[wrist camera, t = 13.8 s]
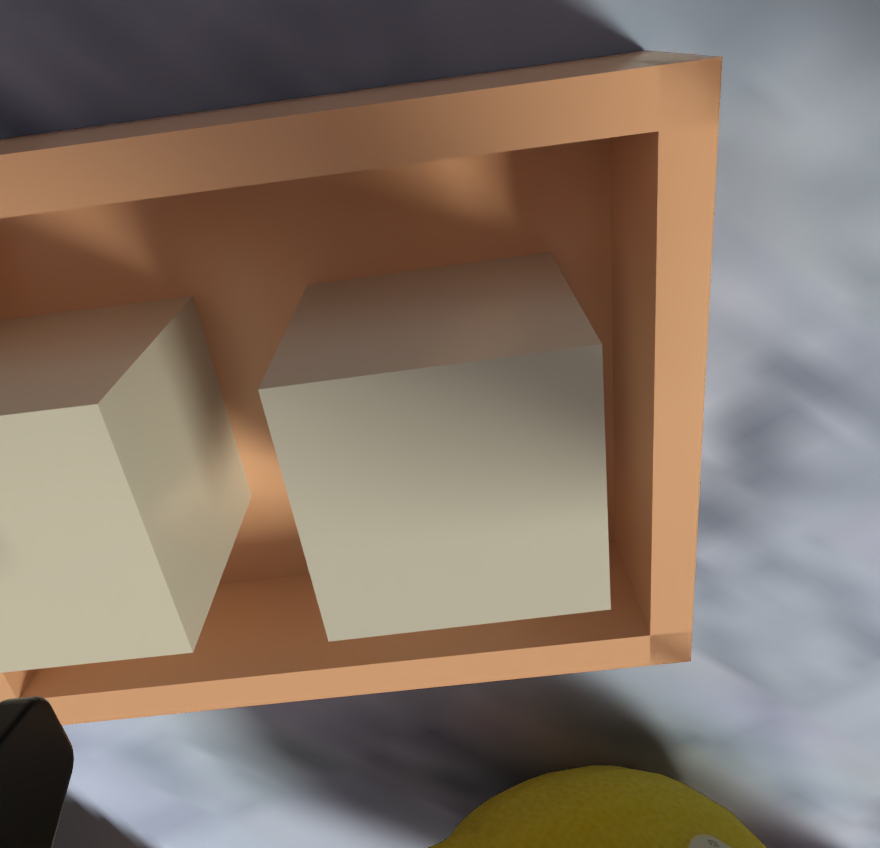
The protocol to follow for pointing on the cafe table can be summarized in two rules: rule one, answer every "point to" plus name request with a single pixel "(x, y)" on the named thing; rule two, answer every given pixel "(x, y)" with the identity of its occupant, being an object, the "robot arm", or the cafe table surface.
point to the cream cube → (112, 484)
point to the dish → (384, 252)
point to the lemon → (600, 814)
